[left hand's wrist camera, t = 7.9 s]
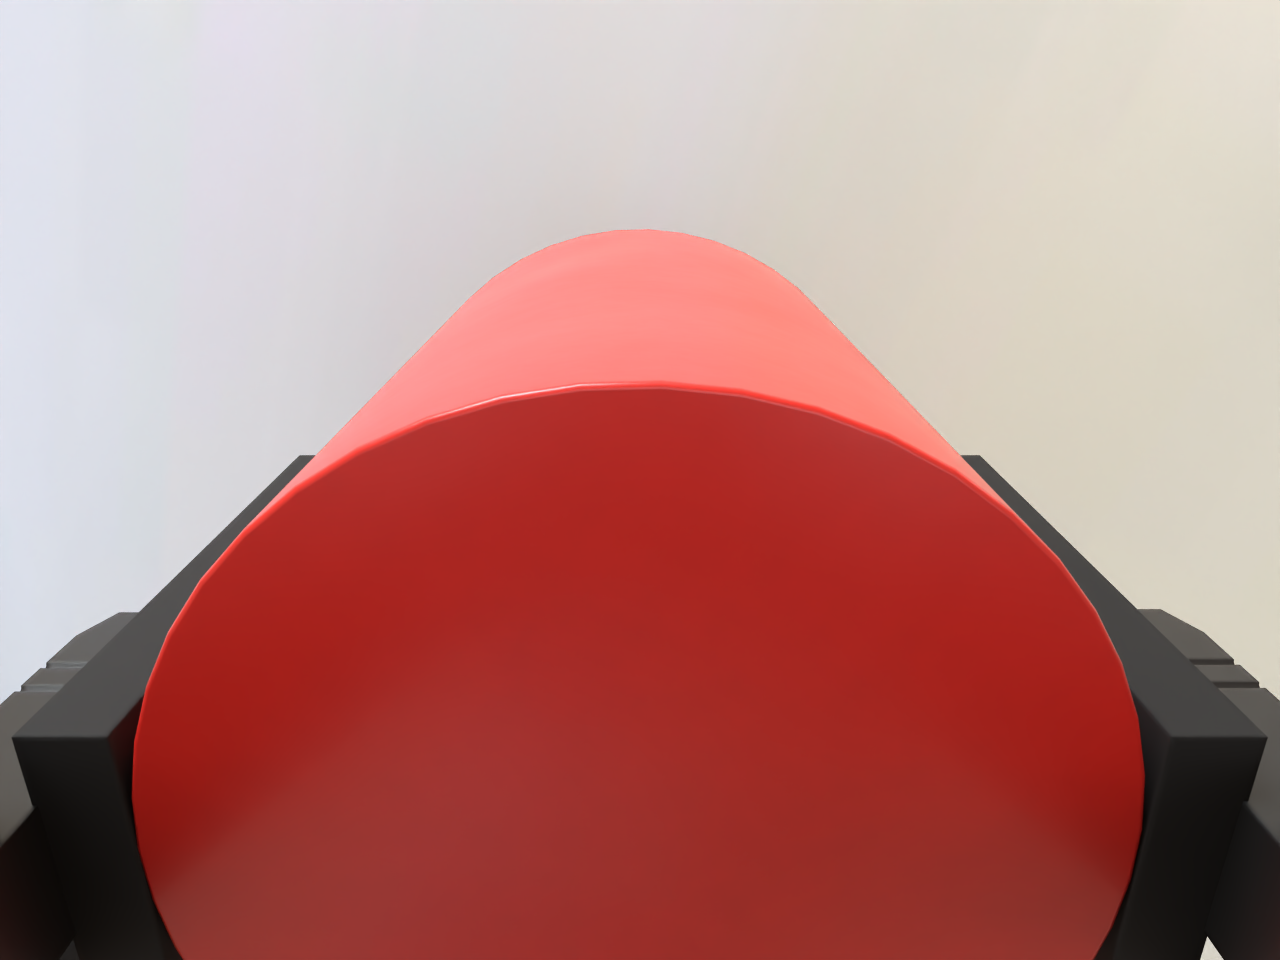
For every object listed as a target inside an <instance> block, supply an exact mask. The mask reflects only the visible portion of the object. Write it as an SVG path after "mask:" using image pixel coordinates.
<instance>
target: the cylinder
mask: <svg viewBox="0 0 1280 960" xmlns="http://www.w3.org/2000/svg"><path fill="white" fill-rule="evenodd" d="M1144 785H1145V771H1144V762H1143V754H1142V745H1141V737H1140V728H1139V720H1138V715H1137V712H1136V708H1135V705H1134V702H1133V698H1132V695H1131V691H1130V688H1129V685H1128V681H1127V678H1126V674H1125V671H1124V668H1123V664H1122V662H1121V660H1120V658H1119V656H1118V654H1117V651H1116V649H1115V647H1114V645H1113V643H1112V641H1111V639H1110V637H1109V635H1108V633H1107V631H1106V629H1105V627H1104V625H1103V623H1102V621H1101V619H1100V617H1099V615H1098V613H1097V611H1096V609H1095V608H1094V606H1093V605H1092V603H1091V602H1090V601H1089V599H1088V598H1087V596H1086V595H1085V594H1084V592H1083V591H1082V589H1081V588H1080V587H1079V585H1078V584H1077V582H1076V581H1075V580H1074V578H1073V577H1072V575H1071V574H1070V573H1069V571H1068V570H1067V568H1066V567H1065V566H1064V564H1063V563H1062V561H1061V560H1060V559H1059V557H1058V556H1057V555H1056V554H1055V553H1054V552H1053V551H1052V550H1051V549H1050V548H1049V547H1048V546H1047V545H1046V544H1045V543H1044V542H1043V541H1042V540H1041V539H1040V538H1039V537H1038V536H1037V535H1036V534H1035V533H1034V532H1033V531H1032V529H1031V528H1030V527H1029V526H1028V525H1027V524H1026V523H1025V522H1024V521H1023V520H1022V519H1021V518H1020V517H1019V516H1018V515H1017V514H1016V513H1015V512H1014V511H1013V510H1012V509H1011V508H1010V507H1009V506H1008V505H1007V504H1006V503H1005V502H1004V500H1003V499H1002V498H1001V497H1000V496H999V495H998V494H997V493H996V492H995V491H994V490H993V489H992V488H991V487H990V486H989V485H988V484H987V483H986V482H985V481H984V480H983V479H982V478H981V477H980V476H979V475H978V474H977V473H976V471H975V470H974V469H973V468H972V467H971V466H970V465H969V464H968V463H967V462H966V461H965V460H964V459H963V458H962V457H961V456H960V455H959V454H958V453H957V452H956V451H955V450H954V449H953V448H952V447H951V446H950V445H949V444H948V442H947V441H946V440H945V439H944V438H943V437H942V436H941V435H940V434H939V433H938V432H937V431H936V430H935V429H934V428H933V427H932V426H931V425H930V424H929V423H928V422H927V421H926V420H925V419H924V418H923V417H922V416H921V414H920V413H919V412H918V411H917V410H916V409H915V408H914V407H913V406H912V405H911V404H910V403H909V402H908V401H907V400H906V399H905V398H904V397H903V396H902V395H901V394H900V393H899V392H898V391H897V390H896V389H895V388H894V387H893V385H892V384H891V383H890V382H889V381H888V380H887V379H886V378H885V377H884V376H883V375H882V374H881V373H880V372H879V371H878V370H877V369H876V368H875V367H874V366H873V365H872V364H871V363H870V362H869V361H868V360H867V359H866V358H865V356H864V355H863V354H862V353H861V352H860V351H859V350H858V349H857V348H856V347H855V346H854V345H853V344H852V343H851V342H850V341H849V340H848V339H847V338H846V337H845V336H844V335H843V334H842V333H841V332H840V331H839V330H838V329H837V327H836V326H835V325H834V324H833V323H832V322H831V321H830V320H829V319H828V318H827V317H826V316H825V315H824V314H823V313H822V312H821V311H820V310H819V309H818V308H817V307H816V306H815V305H814V304H813V303H812V302H811V301H810V300H809V299H808V298H807V297H806V296H805V295H804V294H803V293H802V292H801V291H800V290H799V289H798V288H797V287H796V286H794V285H793V284H792V283H791V282H789V281H788V280H787V279H785V278H784V277H783V276H781V275H780V274H779V273H777V272H776V271H775V270H774V269H772V268H770V267H768V266H767V265H765V264H763V263H761V262H760V261H758V260H756V259H754V258H753V257H751V256H749V255H747V254H745V253H743V252H741V251H738V250H736V249H733V248H731V247H728V246H726V245H723V244H721V243H718V242H716V241H712V240H708V239H704V238H700V237H696V236H692V235H688V234H684V233H677V232H668V231H658V230H649V229H648V230H615V231H609V232H603V233H597V234H591V235H585V236H580V237H577V238H574V239H571V240H567V241H564V242H561V243H558V244H554V245H551V246H549V247H547V248H545V249H543V250H540V251H538V252H536V253H534V254H532V255H530V256H527V257H525V258H523V259H521V260H520V261H518V262H516V263H515V264H513V265H512V266H510V267H509V268H507V269H506V270H504V271H502V272H501V273H499V274H498V275H496V276H495V277H493V278H492V279H491V280H490V281H489V282H488V283H486V284H485V285H484V286H483V287H482V288H481V289H480V290H478V291H477V292H476V293H475V294H474V295H473V296H471V297H470V298H469V299H468V300H467V301H466V302H465V303H464V304H463V305H462V306H461V307H460V308H459V309H458V311H457V312H456V313H455V314H454V315H453V316H452V317H451V318H450V319H449V320H448V321H447V322H446V323H445V324H444V325H443V326H442V327H441V328H440V329H439V330H438V331H437V332H436V333H435V334H434V335H433V336H432V337H431V338H430V339H429V340H428V341H427V342H426V343H425V344H424V345H423V346H422V347H421V348H420V349H419V350H418V351H417V352H416V353H415V355H414V356H413V357H412V358H411V359H410V360H409V361H408V362H407V363H406V364H405V365H404V366H403V367H402V368H401V369H400V370H399V371H398V372H397V373H396V374H395V375H394V376H393V377H392V378H391V379H390V380H389V381H388V382H387V383H386V384H385V385H384V386H383V387H382V388H381V389H380V390H379V391H378V392H377V393H376V394H375V395H374V396H373V397H372V399H371V400H370V401H369V402H368V403H367V404H366V405H365V406H364V407H363V408H362V409H361V410H360V411H359V412H358V413H357V414H356V415H355V416H354V417H353V418H352V419H351V420H350V421H349V422H348V423H347V424H346V425H345V426H344V427H343V428H342V429H341V430H340V431H339V432H338V433H337V434H336V435H335V436H334V437H333V438H332V439H331V440H330V441H329V443H328V444H327V445H326V446H325V447H324V448H323V449H322V450H321V451H320V452H319V453H318V454H317V455H316V456H315V457H314V458H313V459H312V460H311V461H310V462H309V463H308V464H307V465H306V466H305V467H304V468H303V469H302V470H301V471H300V472H299V473H298V474H297V475H296V476H295V477H294V478H293V479H292V480H291V481H290V482H289V483H288V484H287V485H286V487H285V488H284V489H283V490H282V491H281V492H280V493H279V494H278V495H277V496H276V497H275V498H274V499H273V500H272V501H271V502H270V503H269V504H268V505H267V506H266V507H265V508H264V509H263V510H262V511H261V512H260V513H259V514H258V515H257V516H256V517H255V518H254V519H253V520H252V521H251V522H250V523H249V524H248V525H247V526H246V527H245V528H244V529H243V531H242V532H241V533H240V534H239V535H238V536H237V538H236V539H235V540H234V541H233V542H232V543H231V544H230V546H229V547H228V548H227V549H226V550H225V551H224V553H223V554H222V555H221V556H220V557H219V558H218V560H217V561H216V562H215V563H214V564H213V565H212V566H211V568H210V569H209V570H208V571H207V572H206V573H205V575H204V576H203V577H202V578H201V579H200V581H199V582H198V584H197V586H196V587H195V589H194V591H193V592H192V594H191V595H190V597H189V599H188V600H187V602H186V604H185V605H184V607H183V608H182V610H181V612H180V613H179V615H178V617H177V618H176V620H175V621H174V623H173V625H172V626H171V628H170V630H169V631H168V633H167V636H166V638H165V641H164V643H163V646H162V648H161V651H160V653H159V656H158V658H157V661H156V663H155V666H154V668H153V670H152V673H151V675H150V678H149V680H148V683H147V685H146V689H145V694H144V699H143V703H142V708H141V712H140V717H139V722H138V726H137V731H136V736H135V740H134V755H133V778H132V805H133V813H134V821H135V829H136V837H137V845H138V851H139V854H140V858H141V861H142V865H143V868H144V872H145V875H146V878H147V882H148V885H149V889H150V892H151V896H152V899H153V902H154V904H155V906H156V908H157V910H158V912H159V914H160V917H161V919H162V921H163V923H164V925H165V927H166V929H167V932H168V934H169V936H170V938H171V940H172V942H173V944H174V947H175V948H176V950H177V951H178V953H179V954H180V956H181V957H182V959H183V960H1094V958H1095V957H1096V955H1097V953H1098V951H1099V950H1100V948H1101V946H1102V944H1103V943H1104V941H1105V939H1106V937H1107V936H1108V934H1109V932H1110V930H1111V929H1112V927H1113V924H1114V921H1115V919H1116V916H1117V914H1118V911H1119V909H1120V906H1121V904H1122V901H1123V898H1124V896H1125V893H1126V891H1127V888H1128V886H1129V883H1130V880H1131V877H1132V872H1133V868H1134V863H1135V859H1136V854H1137V850H1138V845H1139V841H1140V836H1141V831H1142V822H1143V803H1144Z"/></svg>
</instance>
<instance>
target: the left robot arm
mask: <svg viewBox="0 0 1280 960" xmlns="http://www.w3.org/2000/svg"><path fill="white" fill-rule="evenodd" d="M315 456H316V455H300V456H299V457H298V458H297V459H296V460H295V461H293V462H292V463H291V464H290V465H289V466H288V467H287V468H286V469H285V470H284V471H283V472H282V473H281V474H280V475H279V476H278V477H277V478H276V479H275V480H274V481H273V482H272V483H271V484H270V485H269V486H268V487H267V488H266V489H265V490H264V491H263V492H262V493H261V494H260V495H259V496H258V497H257V498H256V499H255V500H254V501H253V502H252V503H250V504H249V505H248V506H247V507H246V508H245V509H244V510H243V511H242V512H241V513H240V514H239V515H238V516H237V517H236V518H235V519H234V520H233V521H232V522H231V523H230V524H229V525H228V526H227V527H226V528H225V529H224V530H223V531H222V532H221V533H220V534H219V535H218V536H217V537H216V538H215V539H214V540H213V541H212V542H211V543H210V544H209V545H207V546H206V547H205V548H204V549H203V550H202V551H201V552H200V553H199V554H198V555H197V556H196V557H195V558H194V559H193V560H192V561H191V562H190V563H189V564H188V565H187V566H186V567H185V568H184V569H183V570H182V571H181V572H180V573H179V574H178V575H177V576H176V577H175V578H174V579H173V580H172V581H171V582H170V583H169V584H168V585H167V586H166V587H164V588H163V589H162V590H161V591H160V592H159V593H158V594H157V595H156V596H155V597H154V598H153V599H152V600H151V601H150V602H149V603H148V604H147V605H146V606H145V607H144V608H143V609H142V610H141V611H140V612H139V613H118V614H116V615H114V616H112V617H110V618H108V619H106V620H105V621H103V622H101V623H99V624H97V625H95V626H93V627H92V628H90V629H88V630H86V631H84V632H82V633H80V634H79V635H77V636H75V637H74V638H73V639H72V640H71V641H70V642H69V643H68V644H67V645H66V646H64V647H63V648H62V649H61V650H60V651H59V652H58V653H57V654H56V655H55V656H53V657H52V658H51V659H50V660H49V661H48V662H47V663H46V668H40V669H39V670H38V671H37V672H36V673H35V674H34V675H33V676H31V677H30V678H29V679H28V680H27V681H26V682H25V683H24V684H23V685H22V686H21V691H20V692H14V693H13V694H12V695H11V696H9V697H8V698H7V699H6V700H5V701H4V702H3V703H2V704H1V705H0V960H59V959H60V958H61V956H62V955H63V953H64V952H65V950H66V949H67V948H68V946H69V945H70V943H71V942H72V940H73V941H74V944H75V947H76V951H77V954H78V957H79V960H183V959H182V957H181V956H180V954H179V953H178V951H177V950H176V948H175V947H174V944H173V942H172V940H171V938H170V936H169V934H168V932H167V929H166V927H165V925H164V923H163V921H162V919H161V917H160V914H159V912H158V910H157V908H156V906H155V904H154V902H153V899H152V896H151V892H150V889H149V885H148V882H147V878H146V875H145V872H144V868H143V865H142V861H141V858H140V854H139V851H138V845H137V837H136V829H135V821H134V813H133V805H132V778H133V755H134V740H135V736H136V731H137V726H138V722H139V717H140V712H141V708H142V703H143V699H144V694H145V689H146V685H147V683H148V680H149V678H150V675H151V673H152V670H153V668H154V666H155V663H156V661H157V658H158V656H159V653H160V651H161V648H162V646H163V643H164V641H165V638H166V636H167V633H168V631H169V630H170V628H171V626H172V625H173V623H174V621H175V620H176V618H177V617H178V615H179V613H180V612H181V610H182V608H183V607H184V605H185V604H186V602H187V600H188V599H189V597H190V595H191V594H192V592H193V591H194V589H195V587H196V586H197V584H198V582H199V581H200V579H201V578H202V577H203V576H204V575H205V573H206V572H207V571H208V570H209V569H210V568H211V566H212V565H213V564H214V563H215V562H216V561H217V560H218V558H219V557H220V556H221V555H222V554H223V553H224V551H225V550H226V549H227V548H228V547H229V546H230V544H231V543H232V542H233V541H234V540H235V539H236V538H237V536H238V535H239V534H240V533H241V532H242V531H243V529H244V528H245V527H246V526H247V525H248V524H249V523H250V522H251V521H252V520H253V519H254V518H255V517H256V516H257V515H258V514H259V513H260V512H261V511H262V510H263V509H264V508H265V507H266V506H267V505H268V504H269V503H270V502H271V501H272V500H273V499H274V498H275V497H276V496H277V495H278V494H279V493H280V492H281V491H282V490H283V489H284V488H285V487H286V485H287V484H288V483H289V482H290V481H291V480H292V479H293V478H294V477H295V476H296V475H297V474H298V473H299V472H300V471H301V470H302V469H303V468H304V467H305V466H306V465H307V464H308V463H309V462H310V461H311V460H312V459H313V458H314V457H315ZM960 456H961V457H962V458H963V459H964V460H965V461H966V462H967V463H968V464H969V465H970V466H971V467H972V468H973V469H974V470H975V471H976V473H977V474H978V475H979V476H980V477H981V478H982V479H983V480H984V481H985V482H986V483H987V484H988V485H989V486H990V487H991V488H992V489H993V490H994V491H995V492H996V493H997V494H998V495H999V496H1000V497H1001V498H1002V499H1003V500H1004V502H1005V503H1006V504H1007V505H1008V506H1009V507H1010V508H1011V509H1012V510H1013V511H1014V512H1015V513H1016V514H1017V515H1018V516H1019V517H1020V518H1021V519H1022V520H1023V521H1024V522H1025V523H1026V524H1027V525H1028V526H1029V527H1030V528H1031V529H1032V531H1033V532H1034V533H1035V534H1036V535H1037V536H1038V537H1039V538H1040V539H1041V540H1042V541H1043V542H1044V543H1045V544H1046V545H1047V546H1048V547H1049V548H1050V549H1051V550H1052V551H1053V552H1054V553H1055V554H1056V555H1057V556H1058V557H1059V559H1060V560H1061V561H1062V563H1063V564H1064V566H1065V567H1066V568H1067V570H1068V571H1069V573H1070V574H1071V575H1072V577H1073V578H1074V580H1075V581H1076V582H1077V584H1078V585H1079V587H1080V588H1081V589H1082V591H1083V592H1084V594H1085V595H1086V596H1087V598H1088V599H1089V601H1090V602H1091V603H1092V605H1093V606H1094V608H1095V609H1096V611H1097V613H1098V615H1099V617H1100V619H1101V621H1102V623H1103V625H1104V627H1105V629H1106V631H1107V633H1108V635H1109V637H1110V639H1111V641H1112V643H1113V645H1114V647H1115V649H1116V651H1117V654H1118V656H1119V658H1120V660H1121V662H1122V664H1123V668H1124V671H1125V674H1126V678H1127V681H1128V685H1129V688H1130V691H1131V695H1132V698H1133V702H1134V705H1135V708H1136V712H1137V715H1138V720H1139V728H1140V737H1141V745H1142V754H1143V762H1144V771H1145V785H1144V803H1143V822H1142V831H1141V836H1140V841H1139V845H1138V850H1137V854H1136V859H1135V863H1134V868H1133V872H1132V877H1131V880H1130V883H1129V886H1128V888H1127V891H1126V893H1125V896H1124V898H1123V901H1122V904H1121V906H1120V909H1119V911H1118V914H1117V916H1116V919H1115V921H1114V924H1113V927H1112V929H1111V930H1110V932H1109V934H1108V936H1107V937H1106V939H1105V941H1104V943H1103V944H1102V946H1101V948H1100V950H1099V951H1098V953H1097V955H1096V957H1095V958H1094V960H1200V958H1201V955H1202V951H1203V948H1204V945H1205V942H1206V938H1207V936H1208V938H1209V939H1210V941H1211V942H1212V943H1213V945H1214V946H1215V948H1216V949H1217V951H1218V952H1219V954H1220V955H1221V956H1222V958H1223V959H1224V960H1280V701H1279V700H1278V699H1277V698H1276V697H1275V696H1274V695H1273V694H1272V693H1270V692H1269V691H1268V690H1267V689H1266V688H1260V687H1259V682H1258V681H1257V680H1256V679H1255V678H1254V677H1253V676H1252V675H1250V674H1249V673H1248V672H1247V671H1246V670H1245V669H1244V668H1243V667H1242V666H1240V665H1234V659H1233V658H1232V657H1231V656H1229V655H1228V654H1227V653H1226V652H1225V651H1224V650H1223V649H1222V648H1221V647H1219V646H1218V645H1217V644H1216V643H1215V642H1214V641H1213V640H1212V639H1211V638H1209V637H1208V636H1207V635H1206V634H1205V633H1204V632H1202V631H1200V630H1198V629H1196V628H1195V627H1193V626H1191V625H1189V624H1187V623H1185V622H1183V621H1181V620H1180V619H1178V618H1176V617H1174V616H1172V615H1170V614H1168V613H1166V612H1165V611H1163V610H1161V609H1136V608H1135V607H1134V606H1133V605H1132V604H1131V603H1130V602H1129V601H1128V600H1127V599H1126V598H1125V597H1124V596H1123V595H1122V594H1121V593H1120V592H1119V591H1118V590H1117V589H1116V588H1115V587H1114V586H1113V585H1112V584H1111V583H1110V582H1109V581H1108V580H1107V579H1106V578H1105V577H1104V576H1103V575H1102V574H1101V573H1099V572H1098V571H1097V570H1096V569H1095V568H1094V567H1093V566H1092V565H1091V564H1090V563H1089V562H1088V561H1087V560H1086V559H1085V558H1084V557H1083V556H1082V555H1081V554H1080V553H1079V552H1078V551H1077V550H1076V549H1075V548H1074V547H1073V546H1072V545H1071V544H1070V543H1069V542H1068V541H1067V540H1066V539H1065V538H1064V537H1063V536H1062V535H1061V534H1060V533H1059V532H1058V531H1056V530H1055V529H1054V528H1053V527H1052V526H1051V525H1050V524H1049V523H1048V522H1047V521H1046V520H1045V519H1044V518H1043V517H1042V516H1041V515H1040V514H1039V513H1038V512H1037V511H1036V510H1035V509H1034V508H1033V507H1032V506H1031V505H1030V504H1029V503H1028V502H1027V501H1026V500H1025V499H1024V498H1023V497H1022V496H1021V495H1020V494H1019V493H1018V492H1017V491H1016V490H1015V489H1014V488H1012V487H1011V486H1010V485H1009V484H1008V483H1007V482H1006V481H1005V480H1004V479H1003V478H1002V477H1001V476H1000V475H999V474H998V473H997V472H996V471H995V470H994V469H993V468H992V467H991V466H990V465H989V464H988V463H987V462H986V461H985V460H984V459H983V458H982V457H981V456H980V455H960Z"/></svg>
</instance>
